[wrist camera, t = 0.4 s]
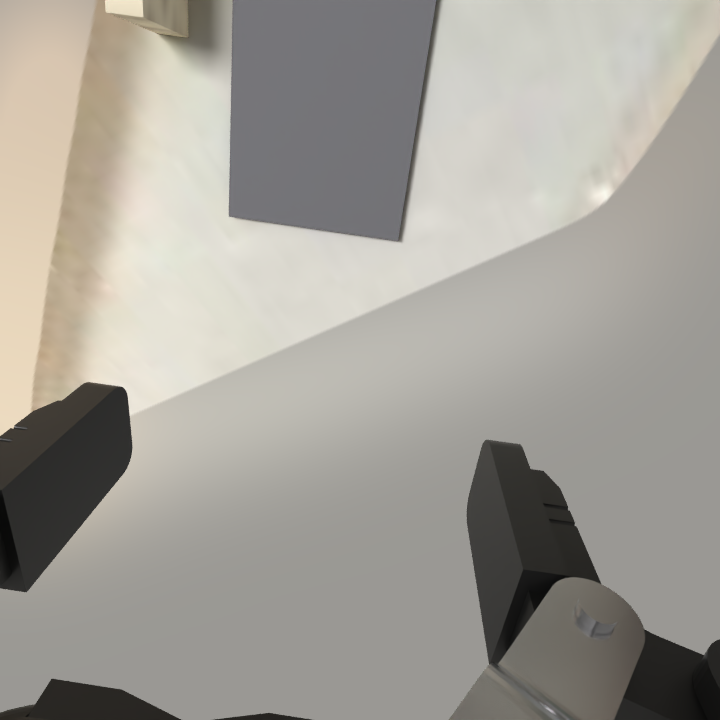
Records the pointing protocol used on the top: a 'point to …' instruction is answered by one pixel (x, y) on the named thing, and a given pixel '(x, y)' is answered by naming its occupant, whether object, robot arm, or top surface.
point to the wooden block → (153, 14)
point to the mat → (326, 111)
